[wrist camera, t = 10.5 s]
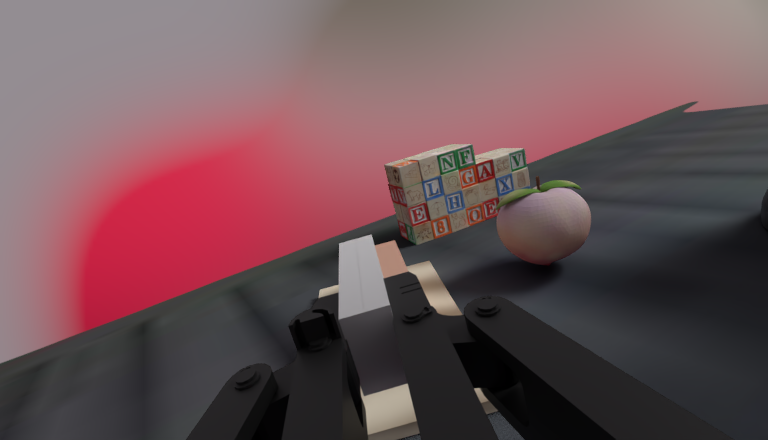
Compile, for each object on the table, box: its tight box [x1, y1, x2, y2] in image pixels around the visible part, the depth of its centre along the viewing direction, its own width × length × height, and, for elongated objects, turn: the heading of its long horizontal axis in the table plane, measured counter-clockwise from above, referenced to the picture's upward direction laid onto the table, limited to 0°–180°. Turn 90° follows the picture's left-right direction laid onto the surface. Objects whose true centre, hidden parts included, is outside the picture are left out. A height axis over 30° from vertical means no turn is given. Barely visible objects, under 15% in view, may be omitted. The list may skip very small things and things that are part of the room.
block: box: [375, 240, 408, 278], centre depth 37 cm, size 5×5×14 cm
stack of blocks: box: [384, 144, 530, 245], centre depth 61 cm, size 21×6×12 cm, turn 109°
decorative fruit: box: [495, 176, 591, 265], centre depth 40 cm, size 9×8×10 cm
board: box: [319, 261, 498, 440], centre depth 36 cm, size 24×14×1 cm, turn 6°
